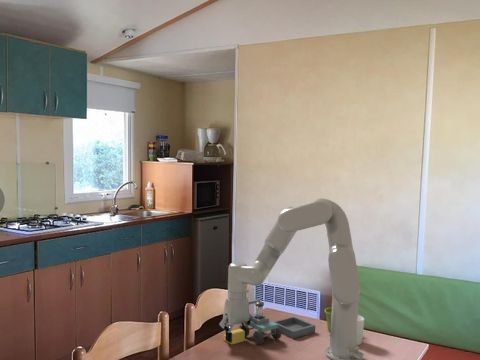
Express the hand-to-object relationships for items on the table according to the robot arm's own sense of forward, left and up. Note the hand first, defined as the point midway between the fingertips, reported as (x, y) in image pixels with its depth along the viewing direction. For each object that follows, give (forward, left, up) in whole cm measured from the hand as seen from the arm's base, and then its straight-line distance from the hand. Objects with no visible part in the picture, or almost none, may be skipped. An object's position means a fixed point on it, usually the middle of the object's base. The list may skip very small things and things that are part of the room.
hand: (236, 339), depth 177 cm
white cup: (-26, -40, -1) cm, 47 cm away
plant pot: (-14, -43, -1) cm, 45 cm away
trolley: (-2, -11, -1) cm, 11 cm away
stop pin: (-1, -11, +5) cm, 12 cm away
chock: (+1, 0, -1) cm, 2 cm away
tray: (-4, -28, -1) cm, 28 cm away
